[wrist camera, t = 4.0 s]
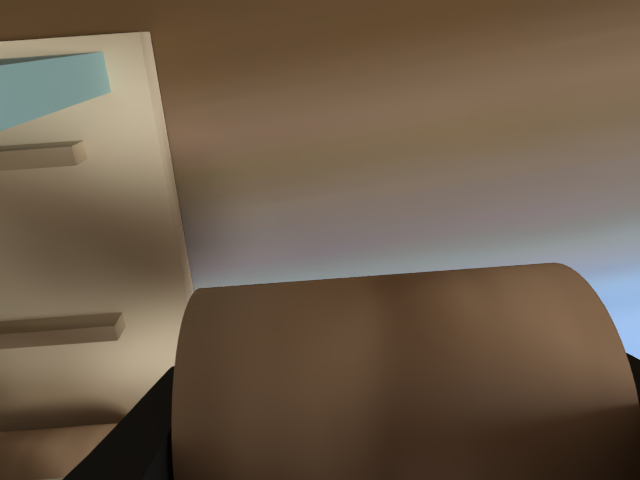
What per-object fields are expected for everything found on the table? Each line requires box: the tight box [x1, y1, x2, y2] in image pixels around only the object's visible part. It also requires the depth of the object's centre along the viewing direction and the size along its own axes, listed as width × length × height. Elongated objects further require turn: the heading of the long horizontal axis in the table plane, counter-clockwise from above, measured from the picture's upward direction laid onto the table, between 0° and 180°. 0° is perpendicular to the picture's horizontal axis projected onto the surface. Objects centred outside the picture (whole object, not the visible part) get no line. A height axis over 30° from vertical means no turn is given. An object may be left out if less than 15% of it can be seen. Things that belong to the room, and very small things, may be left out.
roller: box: [172, 263, 640, 480], centre depth 8 cm, size 4×6×4 cm
